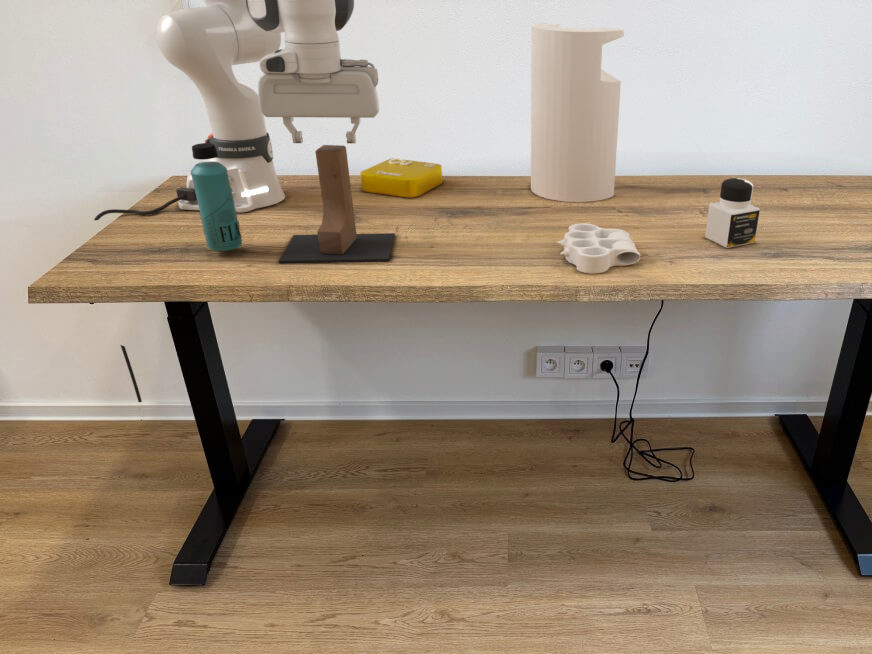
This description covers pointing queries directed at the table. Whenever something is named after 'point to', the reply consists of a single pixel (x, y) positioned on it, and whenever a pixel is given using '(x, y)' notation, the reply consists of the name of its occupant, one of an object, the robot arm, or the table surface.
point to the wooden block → (335, 200)
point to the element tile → (401, 178)
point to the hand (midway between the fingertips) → (325, 142)
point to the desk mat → (359, 251)
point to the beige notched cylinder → (572, 114)
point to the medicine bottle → (733, 215)
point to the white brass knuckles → (598, 248)
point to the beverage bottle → (215, 200)
